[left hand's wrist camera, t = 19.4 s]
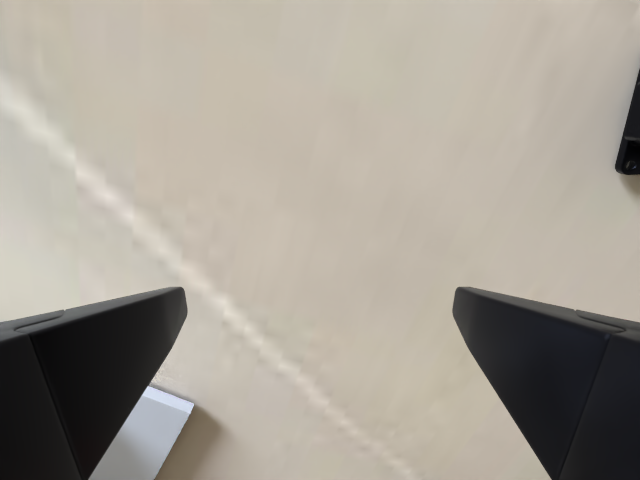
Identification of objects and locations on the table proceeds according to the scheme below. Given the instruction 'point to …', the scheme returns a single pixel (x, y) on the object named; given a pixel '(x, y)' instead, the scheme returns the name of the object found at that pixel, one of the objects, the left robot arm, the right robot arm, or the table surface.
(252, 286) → the table surface
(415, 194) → the table surface
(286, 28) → the table surface
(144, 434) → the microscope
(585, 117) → the table surface
